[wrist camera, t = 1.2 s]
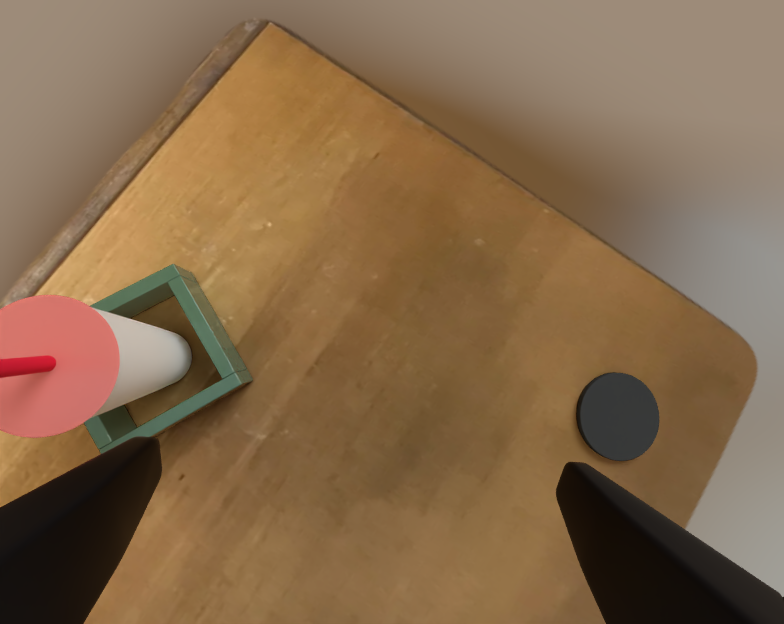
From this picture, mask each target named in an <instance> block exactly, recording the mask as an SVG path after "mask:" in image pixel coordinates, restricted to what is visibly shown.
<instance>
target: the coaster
mask: <svg viewBox="0 0 784 624" xmlns="http://www.w3.org/2000/svg"><path fill="white" fill-rule="evenodd" d="M577 421H578V426H579V430H580V432H581V435H582V436H583V438H584V440H585V441H586V443H587V444H588V445H589V446H590V448H592V449H593V450H594V451H595V452H596V453H598V454H599V455H601V456H604V457H606V458H608V459H611V460H616V461H626V460H631V459H634V458H636V457H638V456H640V455H642V454H643V453H644V452H645V451H647V449H648V448H649V447H650V446H651V445H652V443H653V441H654V439H655V437H656V435H657V432H658V427H659V411H658V406H657V403H656V400H655V398H654V396H653V394H652V393H651V391H650V390H649V389H648V387H647V386H646V385H645V384H644V383H643V382H641V381H640V380H638V379H637V378H635V377H633V376H631V375H628V374H623V373H607V374H603V375H601V376H599V377H597V378H595V379H594V380H592V381H591V382H590V383H589V384H588V385H587V386H586V388H585V389H584V390H583V392H582V394H581V396H580V399H579V402H578V407H577Z"/></svg>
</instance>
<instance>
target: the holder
mask: <svg viewBox="0 0 784 624" xmlns="http://www.w3.org/2000/svg"><path fill="white" fill-rule="evenodd" d="M173 295H175V297H176V299H177V300H178V302H179V304H180V306H181V307H182V309H183V311H184V313H185V314H186V316H187V318H188V320H189V321H190V323H191V325H192V327H193V328H194V330H195V332H196V334H197V335H198V337H199V339H200V341H201V342H202V344H203V346H204V348H205V349H206V351H207V353H208V355H209V356H210V358H211V360H212V362H213V363H214V365H215V367H216V369H217V370H218V372H219V374H220V376H221V377H222V380H220V381H219V382H217V383H215V384H213V385H212V386H210V387H208V388H206V389H204V390H203V391H201V392H199V393H197V394H196V395H194V396H192V397H190V398H189V399H187V400H185V401H183V402H182V403H180V404H178V405H176V406H175V407H173V408H171V409H169V410H167V411H166V412H164V413H162V414H160V415H159V416H157V417H155V418H153V419H152V420H150V421H148V422H146V423H145V424H143V425H141V426H139V427H138V428H137V427H136V425H135V424H134V422H133V420H132V418H131V416H130V415H129V413H128V411H127V409H126V408H125V406H124V405H121V406H119V407H117V408H114V409H112V410H109V411H107V412H104V413H102V414H99V415H97V416H94V417H92V418H90V419H88V420H87V421H85V422H84V424H85V426H86V428H87V430H88V431H89V433H90V435H91V437H92V439H93V440H94V442H95V444H96V446H97V448H98V449H100V450H99V451H100V453H101V454H102V453H104V452H106V451H108V450H110V449H112V448H114V447H115V446H117V445H119V444H121V443H123V442H125V441H127V440H129V439H131V438H133V437H136V436H145V437H156V436H158V435H159V434H161V433H163V432H165V431H166V430H168V429H170V428H172V427H173V426H175V425H177V424H178V423H180V422H182V421H184V420H185V419H187V418H189V417H191V416H192V415H194V414H196V413H198V412H199V411H201V410H203V409H204V408H206V407H208V406H210V405H211V404H213V403H215V402H217V401H218V400H220V399H222V398H224V397H225V396H227V395H229V394H231V393H232V392H234V391H236V390H237V389H239V388H241V387H243V386H244V385H246V384H248V383H250V382H251V381H253V379H252V377H251V375H250V374H249V372H248V370H247V368H246V366H245V365H244V363H243V361H242V359H241V358H240V356H239V354H238V352H237V351H236V349H235V347H234V345H233V344H232V342H231V340H230V338H229V337H228V335H227V333H226V331H225V330H224V328H223V326H222V324H221V323H220V321H219V319H218V317H217V316H216V314H215V312H214V310H213V309H212V307H211V305H210V303H209V302H208V300H207V298H206V296H205V295H204V293H203V291H202V289H201V288H200V286H199V284H198V283H197V281H196V279H195V277H194V276H193V274H192V273H191V272H189V271H187V270H185V269H183V268H181V267H179V266H177V265H175V264H172V265H170V266H168V267H166V268H164V269H162V270H160V271H158V272H156V273H154V274H152V275H150V276H148V277H146V278H144V279H142V280H140V281H138V282H136V283H134V284H132V285H130V286H128V287H126V288H124V289H122V290H120V291H118V292H116V293H114V294H112V295H110V296H108V297H106V298H104V299H102V300H100V301H99V302H97V303H95V304H93V305H91V306H90V307H92V308H95V309H98V310H102V311H105V312H109V313H112V314H116V315H119V316H122V317H126V318H131V317H133V316H135V315H137V314H139V313H141V312H143V311H144V310H146V309H148V308H150V307H152V306H154V305H156V304H158V303H160V302H162V301H164V300H166V299H168V298H170V297H171V296H173Z"/></svg>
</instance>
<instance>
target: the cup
mask: <svg viewBox="0 0 784 624" xmlns="http://www.w3.org/2000/svg"><path fill="white" fill-rule="evenodd" d="M191 361H192V353H191V349H190V346H189V344H188V343H187V341H186V340H185V339H184V338H183V337H182V336H180V335H178V334H176V333H174V332H171V331H168V330H164V329H162V328H159V327H155V326H152V325H149V324H146V323H142V322H139V321H136V320H132V319H129V318H126V317H122V316H119V315H116V314H112V313H109V312H105V311H102V310H98V309H95V308H92V307H90V306H88V305H87V304H85V303H83V302H81V301H78V300H76V299H73V298H69V297H65V296H58V295H39V296H33V297H28V298H24V299H21V300H18V301H16V302H13V303H11V304H9V305H7V306H5V307H3V308H2V309H0V430H1V431H3V432H6V433H9V434H12V435H16V436H21V437H30V438H38V437H48V436H53V435H57V434H61V433H64V432H66V431H69V430H71V429H73V428H75V427H77V426H79V425H81V424H82V423H84V422H85V421H87V420H88V419H90V418H92V417H94V416H97V415H99V414H102V413H104V412H107V411H109V410H112V409H114V408H117V407H119V406H121V405H124V404H126V403H129V402H131V401H133V400H136V399H138V398H141V397H143V396H145V395H148V394H150V393H153V392H155V391H157V390H160V389H162V388H164V387H166V386H169V385H171V384H173V383H175V382H177V381H179V380H180V379H181V378H182V377H184V375H185V374H186V373H187V371H188V370H189V368H190V365H191Z"/></svg>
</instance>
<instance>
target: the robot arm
mask: <svg viewBox="0 0 784 624" xmlns="http://www.w3.org/2000/svg"><path fill="white" fill-rule="evenodd" d="M161 473H162V463H161V454H160V444H159V441H158V439H157V438H155V437H145V436H136V437H133V438H131V439H129V440H127V441H125V442H123V443H121V444H119V445H117V446H115V447H114V448H112V449H110V450H108V451H106V452H104V453H102V454H100V455H98V456H97V457H95V458H93V459H91V460H89V461H87V462H85V463H83V464H81V465H80V466H78V467H76V468H74V469H72V470H70V471H68V472H66V473H65V474H63V475H61V476H59V477H57V478H55V479H53V480H51V481H49V482H48V483H46V484H44V485H42V486H40V487H38V488H36V489H34V490H32V491H31V492H29V493H27V494H25V495H23V496H21V497H19V498H17V499H15V500H14V501H12V502H10V503H8V504H6V505H4V506H2V507H0V624H83V623H84V622H85V620H86V618H87V617H88V615H89V613H90V612H91V610H92V608H93V607H94V605H95V603H96V602H97V600H98V598H99V597H100V595H101V593H102V591H103V590H104V588H105V586H106V585H107V583H108V581H109V580H110V578H111V576H112V575H113V573H114V571H115V570H116V568H117V566H118V564H119V563H120V561H121V559H122V557H123V555H124V553H125V551H126V549H127V547H128V545H129V543H130V541H131V539H132V537H133V535H134V533H135V531H136V529H137V526H138V524H139V522H140V520H141V518H142V516H143V514H144V512H145V510H146V508H147V505H148V503H149V501H150V499H151V497H152V495H153V493H154V491H155V489H156V487H157V484H158V482H159V480H160V477H161ZM556 497H557V501H558V504H559V507H560V510H561V513H562V515H563V518H564V521H565V524H566V527H567V530H568V533H569V535H570V538H571V541H572V544H573V547H574V550H575V552H576V555H577V558H578V561H579V563H580V566H581V568H582V571H583V573H584V576H585V578H586V580H587V583H588V585H589V587H590V589H591V592H592V594H593V596H594V598H595V600H596V603H597V605H598V607H599V609H600V611H601V614H602V616H603V618H604V620H605V623H606V624H784V597H782V596H781V595H780V593H778V592H777V591H776V590H774V589H773V588H771V587H769V586H768V585H766V584H765V583H764V582H762V581H761V580H759V579H757V578H756V577H755V576H753V575H752V574H750V573H749V572H747V571H746V570H744V569H743V568H741V567H740V566H738V565H737V564H735V563H734V562H732V561H731V560H729V559H728V558H726V557H725V556H723V555H722V554H720V553H719V552H717V551H716V550H714V549H713V548H712V547H710V546H708V545H707V544H706V543H704V542H702V541H701V540H700V539H698V538H697V537H695V536H694V535H692V534H691V533H689V532H688V531H686V530H685V529H683V528H682V527H680V526H679V525H677V524H676V523H674V522H673V521H671V520H670V519H668V518H667V517H665V516H664V515H662V514H661V513H659V512H658V511H656V510H655V509H653V508H652V507H650V506H649V505H648V504H646V503H645V502H643V501H642V500H640V499H639V498H637V497H636V496H634V495H633V494H631V493H630V492H628V491H627V490H625V489H624V488H622V487H621V486H619V485H618V484H616V483H615V482H613V481H612V480H610V479H609V478H607V477H606V476H604V475H603V474H601V473H600V472H598V471H597V470H595V469H594V468H592V467H591V466H589V465H588V464H586V463H581V462H568V463H567V464H566V465H565V466H564V469H563V472H562V474H561V477H560V480H559V482H558V485H557V488H556Z"/></svg>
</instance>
